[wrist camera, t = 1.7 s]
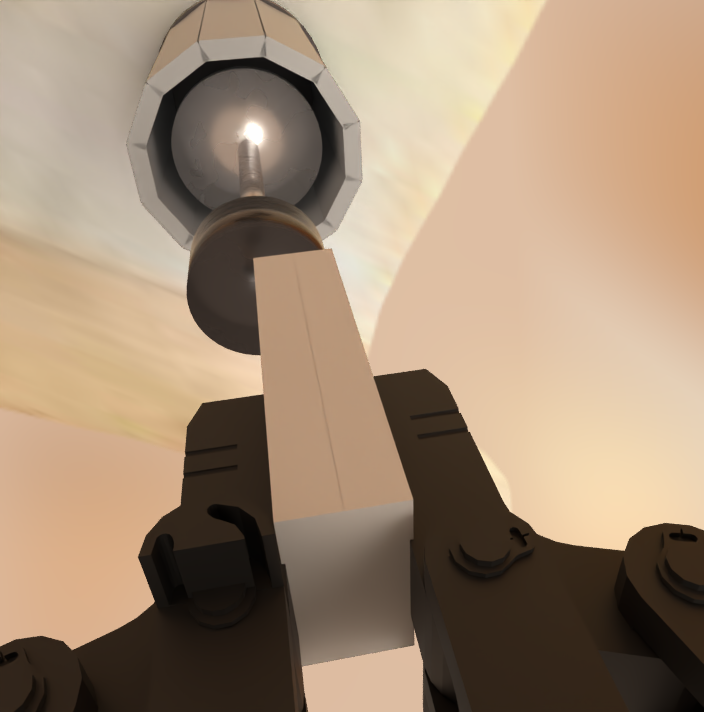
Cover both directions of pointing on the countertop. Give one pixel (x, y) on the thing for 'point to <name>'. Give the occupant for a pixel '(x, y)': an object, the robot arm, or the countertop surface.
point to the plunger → (243, 190)
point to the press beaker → (230, 49)
